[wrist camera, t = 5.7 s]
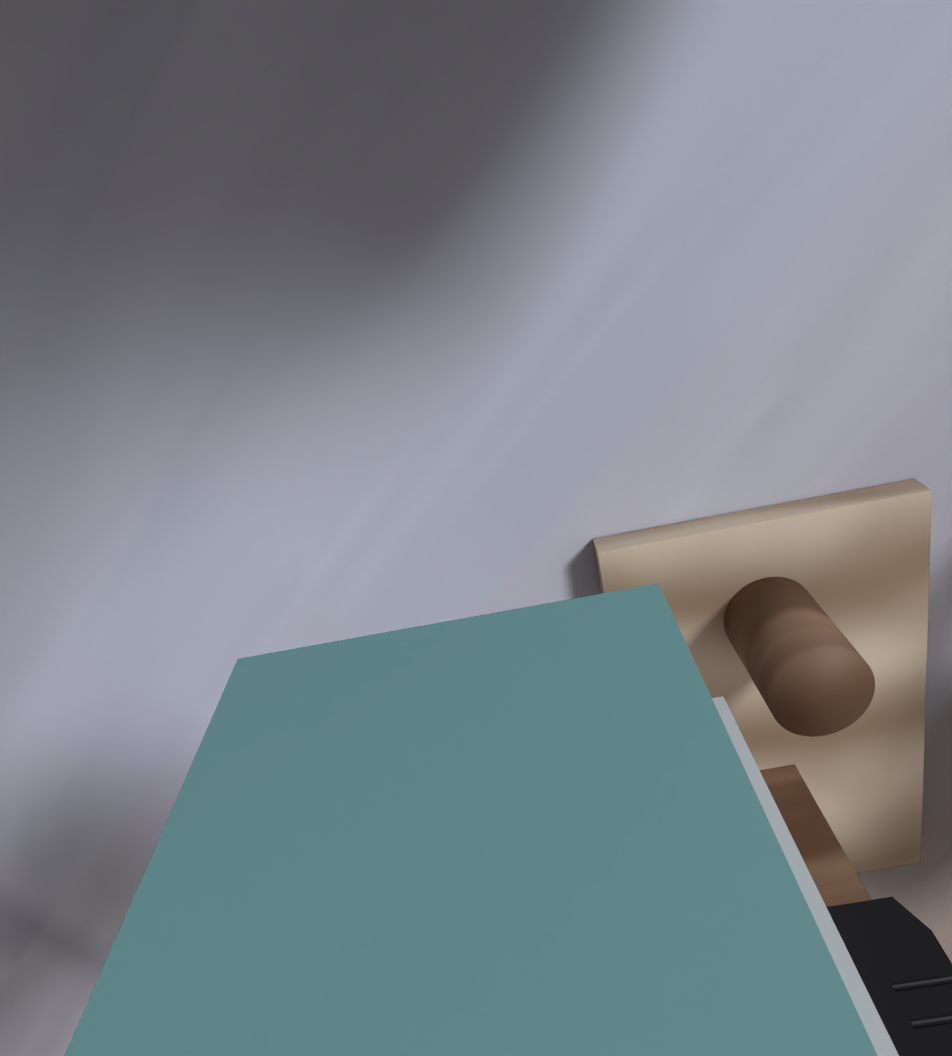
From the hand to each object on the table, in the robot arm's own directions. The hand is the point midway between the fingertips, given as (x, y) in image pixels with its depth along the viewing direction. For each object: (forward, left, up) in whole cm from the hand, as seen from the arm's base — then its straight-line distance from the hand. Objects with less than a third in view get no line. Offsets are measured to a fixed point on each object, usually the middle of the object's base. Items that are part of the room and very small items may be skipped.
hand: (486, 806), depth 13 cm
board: (+13, +10, -18) cm, 24 cm away
